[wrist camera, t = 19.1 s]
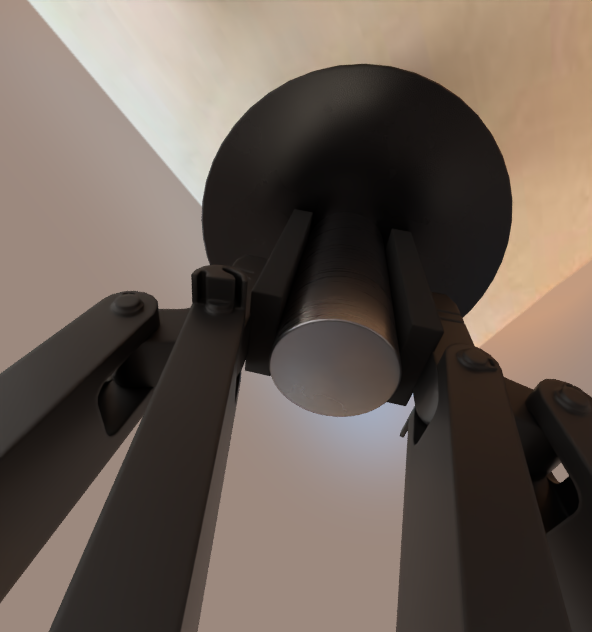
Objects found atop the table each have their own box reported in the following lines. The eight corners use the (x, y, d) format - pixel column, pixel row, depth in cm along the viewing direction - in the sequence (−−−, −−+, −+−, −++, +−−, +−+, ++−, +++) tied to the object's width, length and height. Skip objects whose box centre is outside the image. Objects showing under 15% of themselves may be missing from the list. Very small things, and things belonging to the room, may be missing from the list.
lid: (575, 101, 11) (929, 130, 4) (431, 369, 19) (475, 542, 12) (209, 35, 12) (-11, -34, 5) (210, 321, 19) (124, 458, 12)
